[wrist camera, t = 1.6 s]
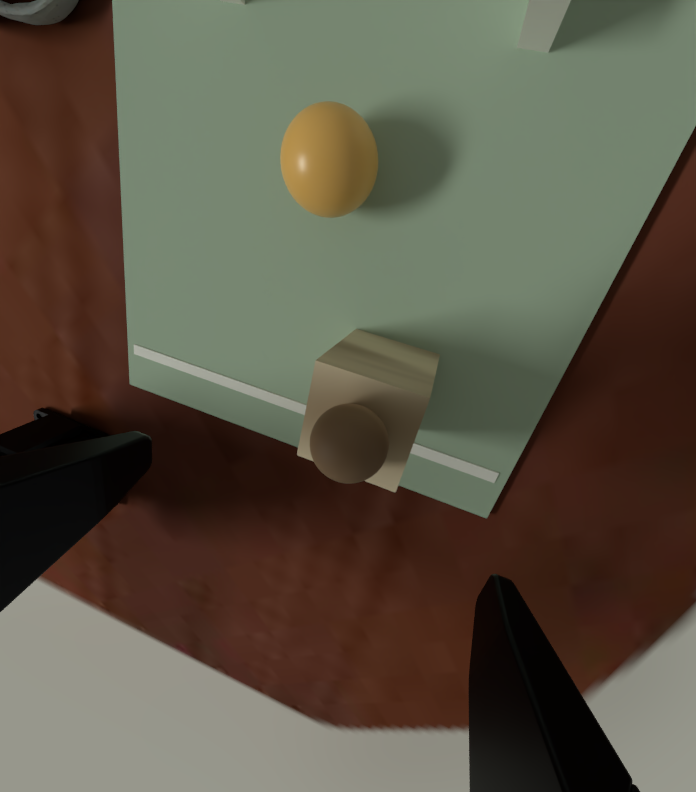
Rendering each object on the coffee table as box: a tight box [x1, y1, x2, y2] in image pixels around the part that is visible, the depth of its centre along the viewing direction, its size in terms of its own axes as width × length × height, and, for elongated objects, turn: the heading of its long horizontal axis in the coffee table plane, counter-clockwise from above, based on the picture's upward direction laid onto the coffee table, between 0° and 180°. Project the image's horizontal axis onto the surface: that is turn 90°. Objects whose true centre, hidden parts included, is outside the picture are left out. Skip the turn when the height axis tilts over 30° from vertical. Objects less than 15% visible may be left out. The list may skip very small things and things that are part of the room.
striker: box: [297, 329, 440, 493], centre depth 14 cm, size 4×4×8 cm
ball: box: [280, 101, 378, 218], centre depth 13 cm, size 4×4×4 cm
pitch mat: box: [112, 0, 696, 518], centre depth 15 cm, size 26×22×1 cm
